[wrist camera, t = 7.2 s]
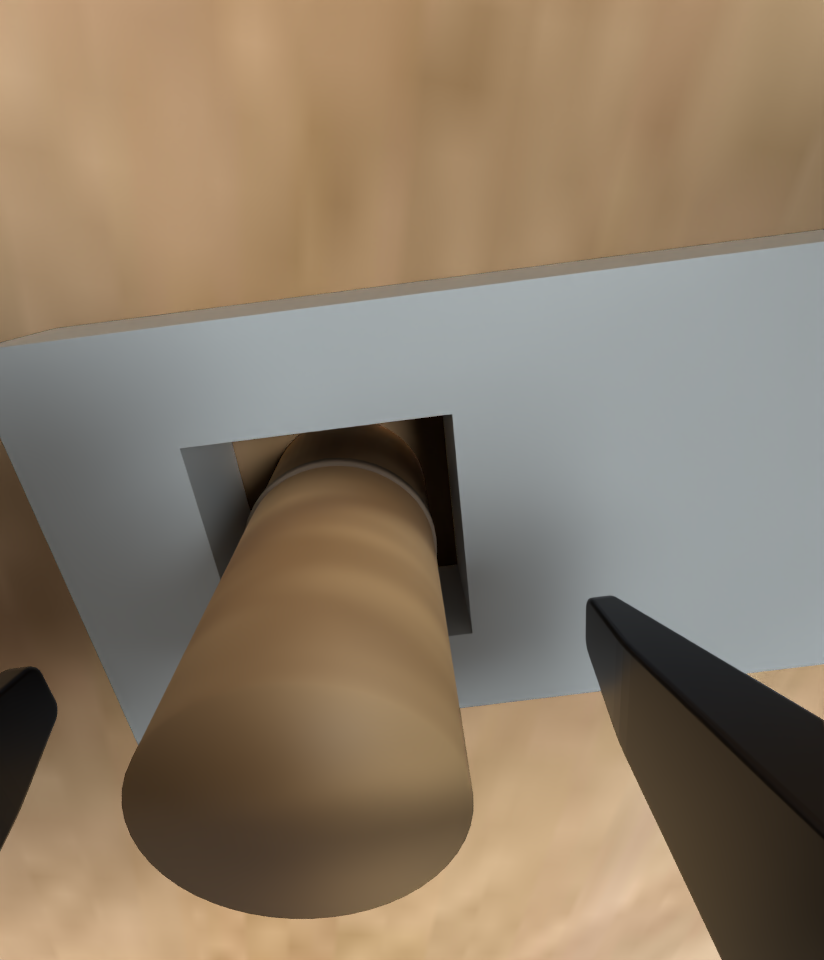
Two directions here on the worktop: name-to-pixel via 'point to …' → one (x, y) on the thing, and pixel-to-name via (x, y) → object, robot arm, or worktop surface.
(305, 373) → the board
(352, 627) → the peg
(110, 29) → the worktop surface
